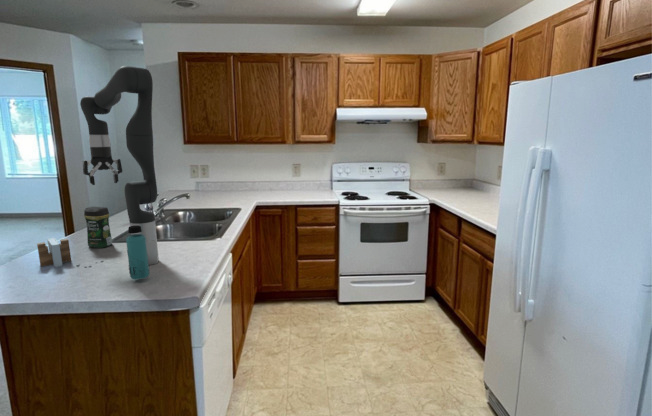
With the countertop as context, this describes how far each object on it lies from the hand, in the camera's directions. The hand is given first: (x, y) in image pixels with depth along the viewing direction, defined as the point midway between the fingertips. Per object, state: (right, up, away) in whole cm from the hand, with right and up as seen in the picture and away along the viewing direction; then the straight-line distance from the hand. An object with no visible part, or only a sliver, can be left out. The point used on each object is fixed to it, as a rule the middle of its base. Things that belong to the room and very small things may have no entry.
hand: (104, 183), depth 161 cm
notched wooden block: (-14, -33, -10) cm, 37 cm away
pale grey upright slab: (-14, -33, -10) cm, 37 cm away
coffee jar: (-10, -28, +13) cm, 33 cm away
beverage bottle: (+29, -36, -27) cm, 53 cm away
